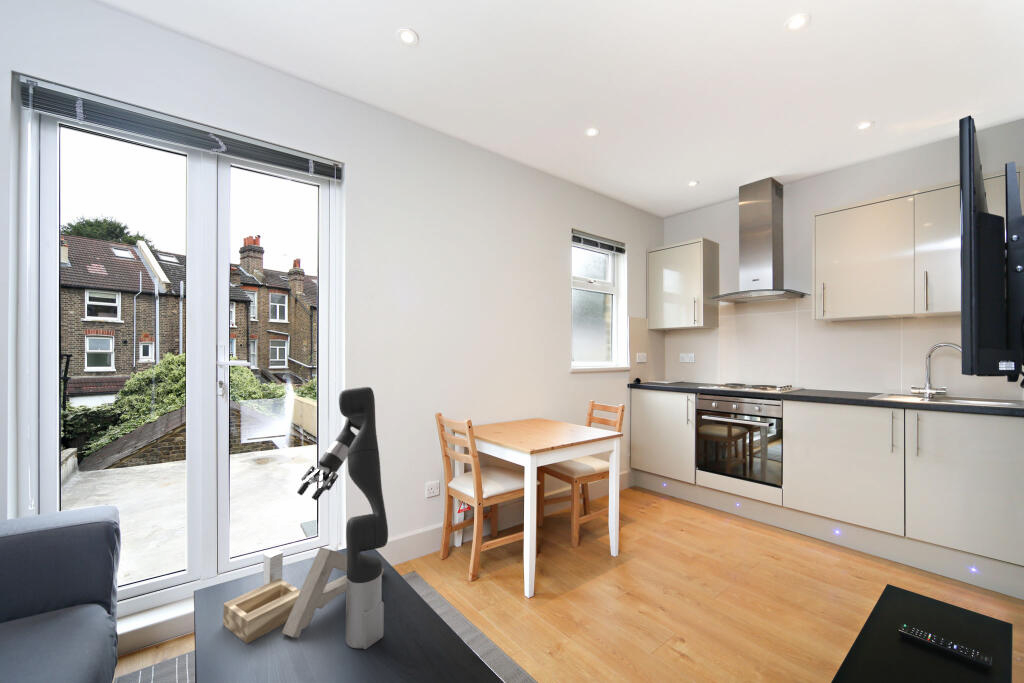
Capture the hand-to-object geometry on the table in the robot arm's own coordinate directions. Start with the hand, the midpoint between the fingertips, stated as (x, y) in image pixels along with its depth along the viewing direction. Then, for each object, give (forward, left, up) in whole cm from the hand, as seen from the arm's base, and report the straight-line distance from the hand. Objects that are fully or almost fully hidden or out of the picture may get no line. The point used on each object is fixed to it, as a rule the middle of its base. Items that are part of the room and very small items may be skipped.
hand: (306, 496), depth 149 cm
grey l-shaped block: (-2, +15, -27) cm, 31 cm away
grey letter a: (-24, +3, -28) cm, 37 cm away
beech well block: (-13, +20, -27) cm, 37 cm away
